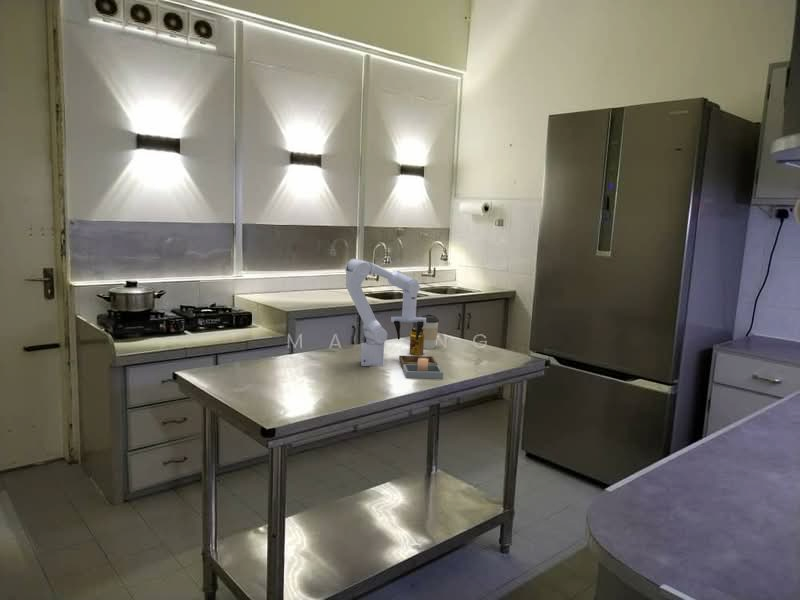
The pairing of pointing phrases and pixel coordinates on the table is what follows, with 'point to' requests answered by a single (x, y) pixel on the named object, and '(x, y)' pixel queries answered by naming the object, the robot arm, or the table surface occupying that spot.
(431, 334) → the coffee cup
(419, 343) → the condiment
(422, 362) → the orange tan cylinder
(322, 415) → the table surface
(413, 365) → the bin
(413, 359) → the bin
